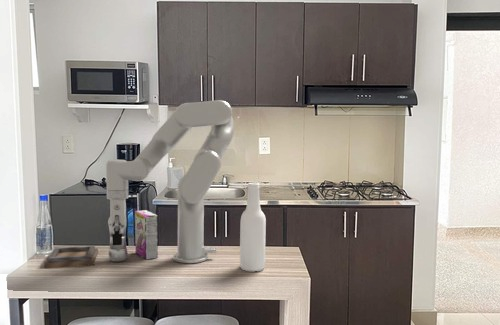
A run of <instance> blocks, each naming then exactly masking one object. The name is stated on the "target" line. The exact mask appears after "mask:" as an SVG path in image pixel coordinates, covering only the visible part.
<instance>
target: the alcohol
mask: <svg viewBox="0 0 500 325" xmlns="http://www.w3.org/2000/svg"><path fill="white" fill-rule="evenodd" d="M247 184H248V186H247V188H248V190H247V200H246V208H245V210H244V211H243V212H242V214H241V217H240V229H239V230H240V232H239V234H240V236H239V237H240V238H239V267H240V269H241V270H242V271H244V270H245V272H249V273H251V272H253V273H255V271H257V272H261V271H263V270H264V269H265V266H266V235H267V234H266V231H267V230H266V226H267V223H266V222H267V219H266V215H265V214H264V212H263V211H262V208H261V201H260V200H261V199H260V196H261V195H260V183H258V182H248V183H247ZM263 268H264V269H263Z"/></svg>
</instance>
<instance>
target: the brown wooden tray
mask: <svg viewBox="0 0 500 325" xmlns="http://www.w3.org/2000/svg"><path fill="white" fill-rule="evenodd" d="M98 254H99V249H98V248H96V245H84V246H83V245H81V246H79V245H77V246H61V247H60V246H59V247H58V246H57V247H55V248H54V249H53V250H52V252H51V253H50V254H49V256H48V258H47V259H46V261H45V262H44V268H45V269H50V268H66V267H67V268H69V267H85V266H86V267H90V266H95V263H96V260H97V256H98Z"/></svg>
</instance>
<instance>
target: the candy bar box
mask: <svg viewBox="0 0 500 325" xmlns="http://www.w3.org/2000/svg"><path fill="white" fill-rule="evenodd" d="M134 226H135V227H134V231H135V232H134V233H135V234H134V235H135V238H134V239H135V245H134V246H135V253H136V254H137V255H139V256H140V257H142V258H143V259H145V260H147V261H149V260H153V259H158V257H159V256H158V249H159V248H158V247H159V246H158V240H159V239H158V215H157V214H156V213H154V212H151V211H149V210H146V209H143V210H135V211H134Z"/></svg>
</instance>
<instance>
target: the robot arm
mask: <svg viewBox="0 0 500 325" xmlns="http://www.w3.org/2000/svg"><path fill="white" fill-rule="evenodd" d="M232 115H233V109H232V106H231V105H230V103H228V102H227V101H226V100H223V99H217V100H209V101H198V102H185V103H181V104H180V105H179V106H177V107H176V109H175V110H174V112H173V113H171V114H170V116H169V117H168V119H167V120H165V122H164V123H163V124H162V125H161V126H160V127H159V129H157V131H156V132H155V133H154V134H153V136H152V138H151V140H150V141H149V142H148V144H146V146H145V147H144V149H142V150H141V152H140V153H139V154H138V155H137V157H136V158H135V159H133V160H126V159H110V160H108V161H107V162H106V166H105V168H106V199H107V200H109V205H110V206H109V208H110V209H109V210H110V213H109V214H110V216H111V226H112V227H113V234H112V240H113V245H122V234H121V225H122V226H124V227H125V226H126V227H127V225H126V219H127V203H126V200H127V199H129V181H135V182H141V181H144V180H146V179H147V178H148V177H149V175H150V173H151V172H152V171H153V170H154V169H155V167H156V166H157V165H158V164H159V163H160V161H162V159H163V158H164V157H165V156H167V155H168V154H169V153H170V152H172V151H173V150H174V149H175V148H176V147H177V145H179V143H180V142H181V141H182V140H183V139H184V137H185V136H186V135H187V134H188V133H189V132H190V130H191V129H192V128H196V127H197V128H198V127H200V128H201V127H207V126H208V127H209V126H210V131H209V132H208V135H207V136H206V138H205V140H204V142H203V143H202V145H201V147H200V148H199V150H198V151H197V152H196V154H195V155H194V157H193V161H192V163H191V164H190V167H189V168H188V170H187V171H186V174H184V175H183V176H181V178H180V179H179V181H178V183H177V252H176V253H175V254H174V255H173V258H172V259H173V261H175V262H177V263H182V264H195V263H196V264H197V263H198V264H199V263H202V262H205V261H206V260H207V259H208V257H209V256H208V254H216V253H217V248H215V247H212V246H211V247H205V245H204V233H205V232H204V229H205V228H204V227H205V226H204V224H205V223H204V222H205V221H204V217H205V201H204V200H205V198H204V197H205V196H206V195H207V193H208V192H209V189H210V188H211V186H212V184H213V183H214V181H215V180H216V177H217V176H218V175H219V172H220V170H221V169H222V168H221V167H222V159H223V156H224V155H225V153H226V151H227V150H228V147H229V145H230V144H231V142H232V140H233V137H234V131H235V122H234V118H233V116H232ZM114 221H115V225H114ZM119 224H120V225H119Z"/></svg>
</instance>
